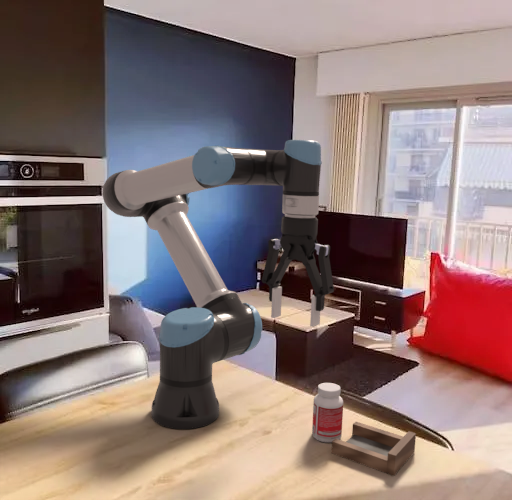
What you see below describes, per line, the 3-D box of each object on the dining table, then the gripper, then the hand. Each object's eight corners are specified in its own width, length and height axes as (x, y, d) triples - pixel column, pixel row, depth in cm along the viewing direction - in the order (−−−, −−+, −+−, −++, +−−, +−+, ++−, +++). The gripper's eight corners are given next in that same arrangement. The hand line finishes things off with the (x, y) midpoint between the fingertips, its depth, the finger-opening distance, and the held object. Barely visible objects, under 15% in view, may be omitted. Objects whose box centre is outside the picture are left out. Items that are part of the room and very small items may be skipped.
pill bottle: (347, 439, 114) (350, 389, 112) (325, 446, 111) (328, 395, 109) (327, 427, 119) (330, 378, 118) (305, 433, 116) (308, 384, 114)
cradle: (331, 453, 108) (332, 434, 108) (355, 432, 117) (356, 414, 117) (394, 475, 101) (395, 455, 100) (414, 452, 110) (416, 433, 109)
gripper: (247, 212, 116) (243, 315, 120) (338, 221, 104) (332, 335, 107) (266, 211, 122) (263, 308, 126) (355, 219, 110) (349, 326, 113)
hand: (295, 320), depth 117 cm, fingers open, 9 cm apart
